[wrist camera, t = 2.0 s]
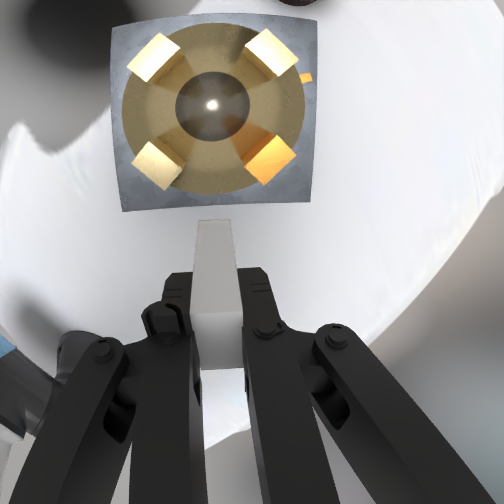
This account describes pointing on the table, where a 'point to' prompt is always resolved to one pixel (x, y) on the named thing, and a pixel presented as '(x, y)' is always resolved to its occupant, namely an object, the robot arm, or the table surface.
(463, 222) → the table surface
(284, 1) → the coffee mug
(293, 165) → the housing
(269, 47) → the lathe chuck
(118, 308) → the table surface
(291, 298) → the table surface
